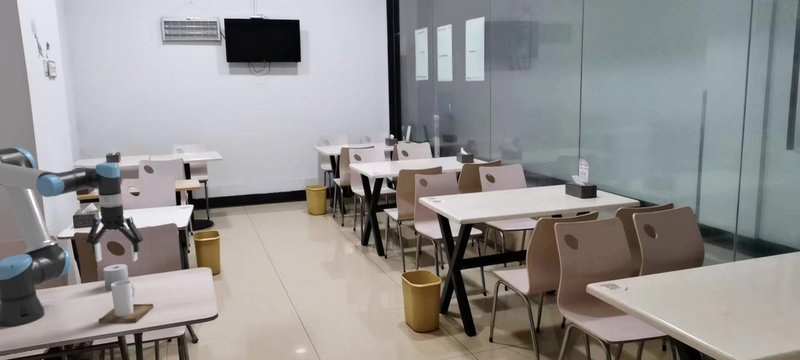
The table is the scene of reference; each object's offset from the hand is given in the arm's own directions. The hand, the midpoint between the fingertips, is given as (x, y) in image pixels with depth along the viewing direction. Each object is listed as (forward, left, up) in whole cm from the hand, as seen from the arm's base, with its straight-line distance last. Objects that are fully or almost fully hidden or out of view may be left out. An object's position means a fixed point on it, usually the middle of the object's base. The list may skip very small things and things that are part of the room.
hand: (117, 260), depth 218 cm
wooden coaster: (+2, -1, -21) cm, 21 cm away
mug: (+2, -1, -20) cm, 20 cm away
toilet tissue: (-18, +32, -21) cm, 43 cm away
